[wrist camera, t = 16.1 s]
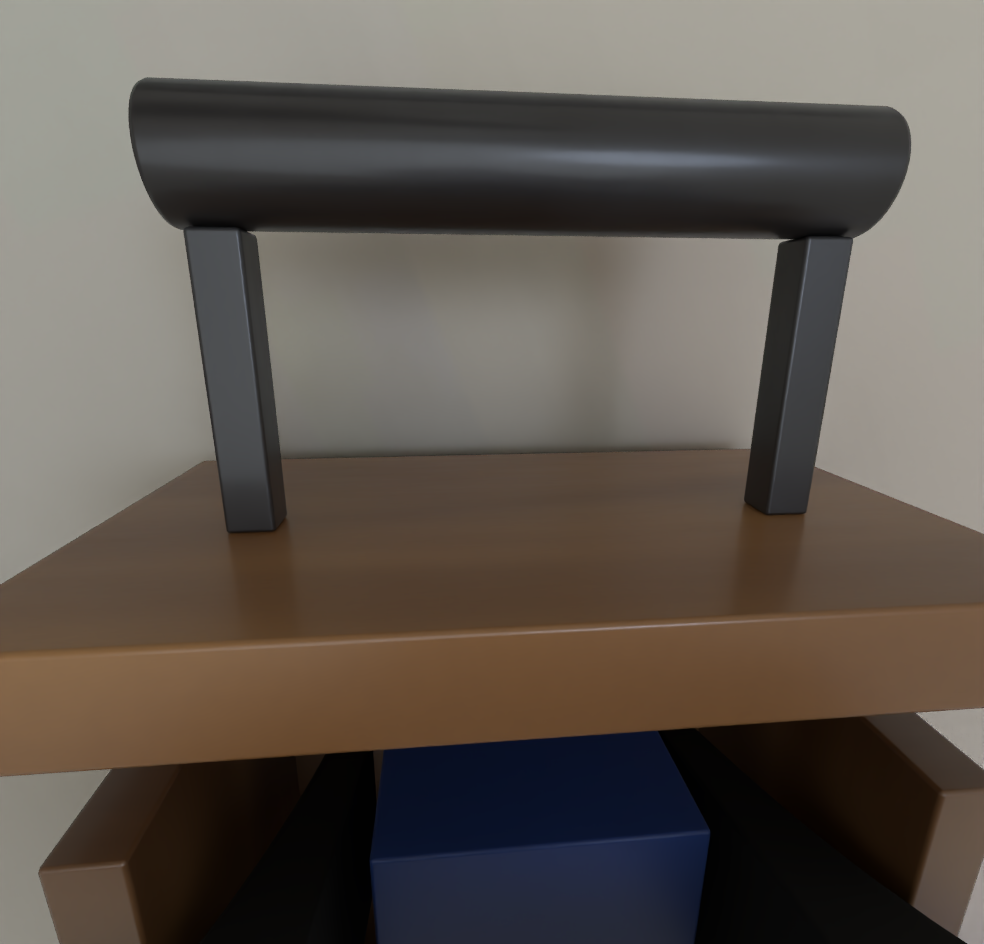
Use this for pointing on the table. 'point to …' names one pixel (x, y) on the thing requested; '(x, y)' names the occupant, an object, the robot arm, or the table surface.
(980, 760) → the table surface
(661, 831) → the blue box
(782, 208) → the drawer
